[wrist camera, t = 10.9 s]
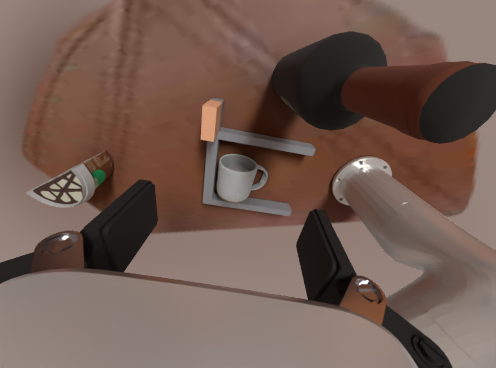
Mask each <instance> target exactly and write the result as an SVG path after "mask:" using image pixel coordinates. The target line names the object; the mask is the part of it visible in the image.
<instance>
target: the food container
mask: <svg viewBox="0 0 496 368" xmlns="http://www.w3.org/2000/svg"><path fill="white" fill-rule="evenodd" d="M113 170H114V163H113V160H112V158H111V156H110V154H109V153H108V152H107V150H106V151H104V152H102V153H100V154H98V155H96V156H94V157H92V158H90V159H88V160H86V161H85V162H83V163H81V164H79V165H77V166H75V167H73V168H71V169H69V170H67V171H66V172H64V173H62V174H60V175H58V176H56V177H54V178H53V179H51V180H49V181H47V182H45V183H43V184H42V185H40V186H38V187H36V188H34V189H32V190H30V191H29V192H27V194H28V195H30V196H31V197H33V198H35V199H36V200H38V201H40V202H42V203H45V204H47V205H50V206H55V207H63V208H66V207H72V206H76V205H79V204H81V203H84V202H86V201H87V200H89V199H90V198H91V197H92V196H93V194H94V191H95V189H96V188H97V187H98V186H99V185H100V184H101V183H102V182H103V181H104V180H106V179H107V178H108V177H109V176H110V175H111V174H112V172H113Z"/></svg>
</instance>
